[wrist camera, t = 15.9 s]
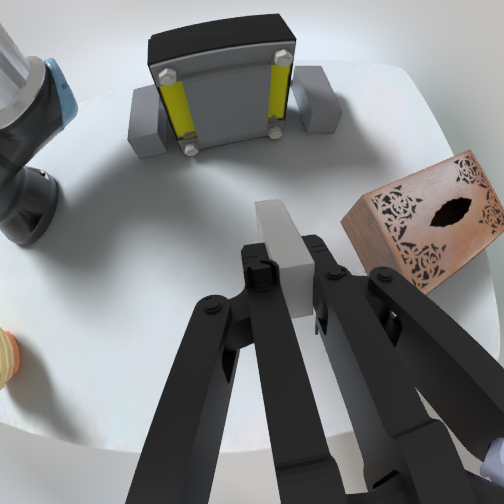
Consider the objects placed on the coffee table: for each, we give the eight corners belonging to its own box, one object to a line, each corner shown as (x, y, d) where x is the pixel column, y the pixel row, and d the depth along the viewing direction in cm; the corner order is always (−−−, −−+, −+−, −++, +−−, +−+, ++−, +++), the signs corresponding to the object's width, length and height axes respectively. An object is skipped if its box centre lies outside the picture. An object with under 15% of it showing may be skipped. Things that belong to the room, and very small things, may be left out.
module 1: (139, 158, 45) (127, 139, 39) (143, 109, 48) (133, 89, 42) (167, 152, 45) (157, 132, 39) (167, 103, 48) (160, 82, 42)
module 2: (306, 134, 46) (312, 112, 40) (291, 87, 49) (294, 65, 43) (333, 133, 46) (342, 112, 40) (316, 87, 49) (321, 65, 43)
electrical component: (182, 162, 45) (147, 74, 25) (177, 118, 47) (148, 33, 27) (286, 141, 45) (302, 48, 26) (271, 99, 48) (277, 11, 28)
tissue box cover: (442, 174, 45) (470, 149, 35) (476, 240, 42) (510, 224, 32) (339, 222, 42) (361, 195, 33) (381, 307, 39) (415, 302, 30)
